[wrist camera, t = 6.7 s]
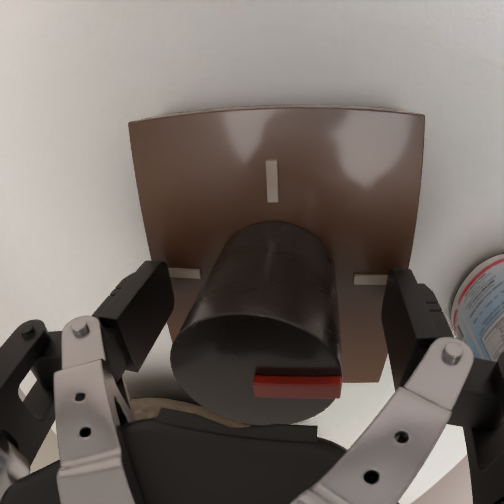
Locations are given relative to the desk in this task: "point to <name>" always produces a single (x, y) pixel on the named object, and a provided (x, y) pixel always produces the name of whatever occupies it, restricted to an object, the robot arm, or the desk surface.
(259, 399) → the knob
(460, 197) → the desk surface
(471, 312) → the pill bottle
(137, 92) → the desk surface
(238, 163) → the panel
